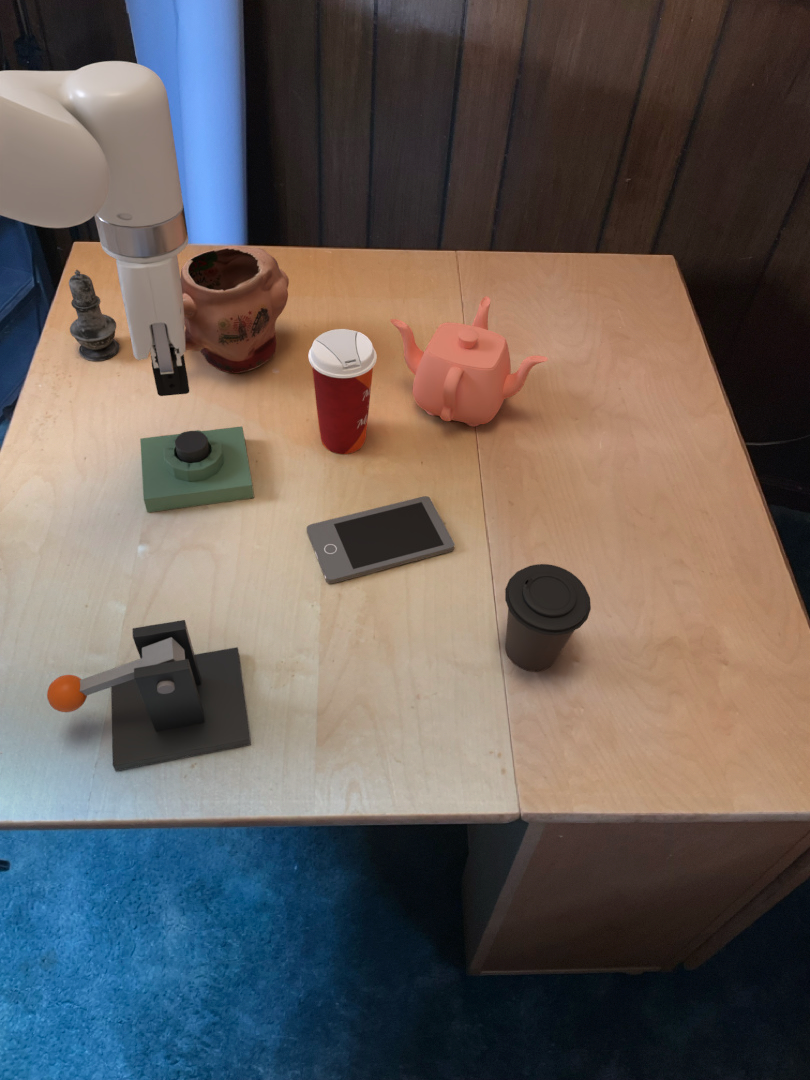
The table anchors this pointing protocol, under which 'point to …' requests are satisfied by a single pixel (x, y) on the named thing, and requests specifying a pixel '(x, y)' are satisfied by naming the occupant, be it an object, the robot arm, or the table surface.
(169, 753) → the lever base
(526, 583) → the coffee cup
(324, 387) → the paper cup
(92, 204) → the robot arm
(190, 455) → the button
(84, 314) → the salt shaker
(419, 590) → the table surface
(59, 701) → the switch lever
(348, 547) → the smartphone
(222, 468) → the control block
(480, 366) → the teapot
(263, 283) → the decorative planter
